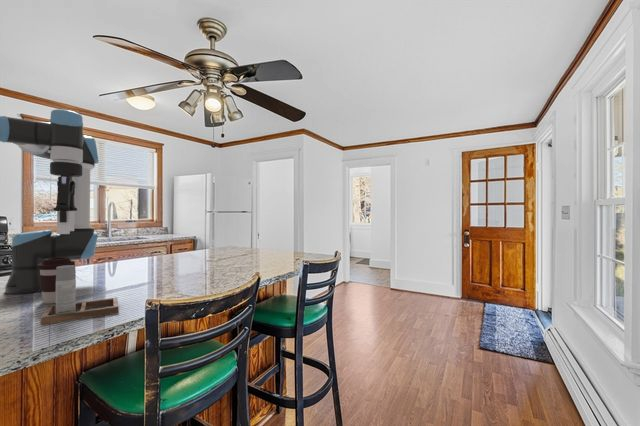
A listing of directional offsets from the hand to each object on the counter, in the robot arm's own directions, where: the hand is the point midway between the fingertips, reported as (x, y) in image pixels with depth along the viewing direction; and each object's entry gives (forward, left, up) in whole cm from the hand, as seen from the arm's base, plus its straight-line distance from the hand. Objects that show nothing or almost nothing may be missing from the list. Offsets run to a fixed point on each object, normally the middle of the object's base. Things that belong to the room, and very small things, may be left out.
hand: (66, 232), depth 91 cm
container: (0, 0, -26) cm, 26 cm away
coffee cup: (-20, -4, -26) cm, 33 cm away
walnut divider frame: (0, +4, -25) cm, 26 cm away
